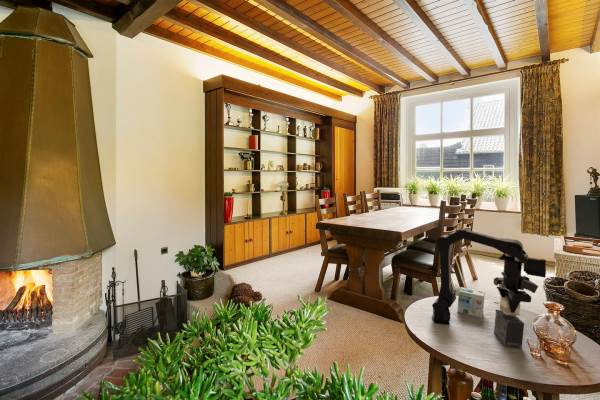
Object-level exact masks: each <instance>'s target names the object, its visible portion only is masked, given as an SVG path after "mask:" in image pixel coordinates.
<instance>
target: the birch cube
mask: <svg viewBox="0 0 600 400" xmlns="http://www.w3.org/2000/svg"><path fill="white" fill-rule="evenodd" d="M499 310H502V311H503V312H504V313H505V314H509V315H516V316H520V312H521V302H520V303H519V305H518V307H517V309H516V311H515V313H511V311H510V308H509V304H508V301H507V298H506V297H501V296H500V301H499Z"/></svg>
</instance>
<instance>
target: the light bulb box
mask: <svg viewBox="0 0 600 400" xmlns="http://www.w3.org/2000/svg"><path fill="white" fill-rule="evenodd" d="M485 292H486V291H483V290H477V289H472V288H467V287H462V286H460V288H459V290H458V298H457V312H458V313H460V314H465V315H469V316H472V317H477V318H480V319H483V315H484V305H485V295H486V294H485ZM457 312H456V313H457Z"/></svg>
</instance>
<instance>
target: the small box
mask: <svg viewBox="0 0 600 400" xmlns="http://www.w3.org/2000/svg"><path fill="white" fill-rule="evenodd" d="M524 327H525V322H524V321H523V320H521V318H519V317H518V315H509V314H505V313H504V312H503V311H502V310H501V309H495V319H494V327H493V328H494V329H493V333H494V335H495V336H496V337H497V338H498V340H499V341H500V342H501V344H502V345H503V346H504V347H506V348H507V347H509V348H516V349H522V348H523V339H524V331H525V329H524Z"/></svg>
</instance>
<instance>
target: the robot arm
mask: <svg viewBox="0 0 600 400" xmlns="http://www.w3.org/2000/svg"><path fill="white" fill-rule="evenodd" d="M461 240H467V241H468V242H469V241H470V242H473V243H476V244H480V245H483V246H487V247H491V248H493V249H495V250H498V251H499V252H501V253H502V255H499V256H498V260H500V261H503V271H501V276H502V277H495V278H493V285H495V286H496V289H497V291H498V292H499V295H500V298H501V297H506V298H507V301H508V304H509V308H510V311H511V313H515V311H516V309H517V307H518V305H519V303H520V304H521V303H532V296H531V295H530V294H529V293H528V292H526V291H529V292H531V293H532V294H535V293H536V291H537V289H538V288H539V285H538V284H536V283H535V282H533V281H531V279H530V278H529V277H528V276H533V277H537V278H538V277H539V278H543V279H544V278H546V275H547V264H546V263H547V259H544V258H535V257H529V255H528V253H527V252H526V250H524V245H523V243H522V242H521V241H519V240H518V239H512V238H504V237H503V238H500V237H494V236H491V235H487V234H483V233H480V232H476V231H473V230H469V229H467V228H460V229H459V230H456V231H455V232H452V233H451V234H442V235H441V236H439V237H438V238H436V242H435V245H436V249H437V252H438V254H439V255H438V256H439V267H440V268H439V269H440V288H439V292H438V296H437V297H438V298H436V300H435V301H434V302H433V303H432V304H431V306H432V315H431V318H432V320H433V322H434V324H443V325H451V323H450V321H451V311H450V309H449V308H451V307H452V306H453V304H454V302H456V300H457V296H456V295H457V294H456V293H457V290H456V289H453V287H452V271H451V270H452V269H451V268H452V267H451V266H452V265H451V260H452V259H451V254H452V252H453V246H454V244H455V243H457V242H459V241H461ZM522 266H523V272H525V273H524V274H526V275H528V276H526V275H522ZM525 290H526V291H525Z"/></svg>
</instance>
